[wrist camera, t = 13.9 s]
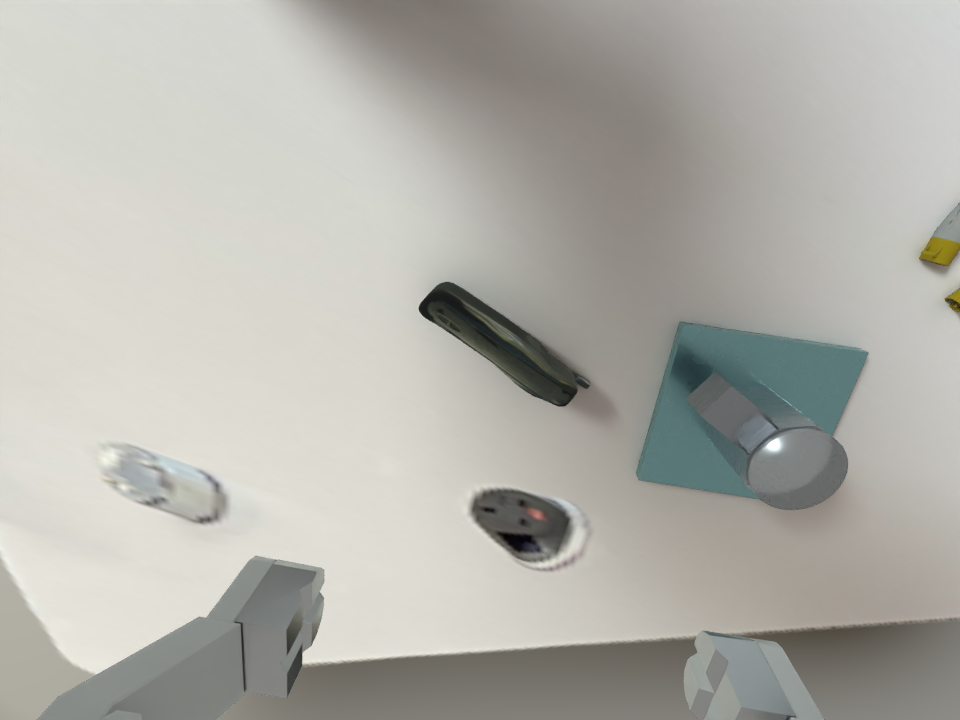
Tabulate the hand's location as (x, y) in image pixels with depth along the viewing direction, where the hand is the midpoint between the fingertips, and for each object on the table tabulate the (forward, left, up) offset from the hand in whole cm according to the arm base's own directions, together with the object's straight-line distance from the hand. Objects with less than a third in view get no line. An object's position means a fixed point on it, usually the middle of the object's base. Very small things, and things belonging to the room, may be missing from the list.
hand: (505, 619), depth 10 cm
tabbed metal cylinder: (+5, +18, -28) cm, 34 cm away
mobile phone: (+3, 0, -30) cm, 30 cm away
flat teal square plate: (+6, +20, -29) cm, 36 cm away
